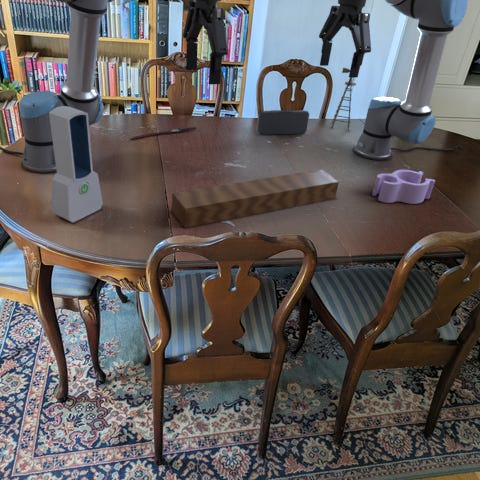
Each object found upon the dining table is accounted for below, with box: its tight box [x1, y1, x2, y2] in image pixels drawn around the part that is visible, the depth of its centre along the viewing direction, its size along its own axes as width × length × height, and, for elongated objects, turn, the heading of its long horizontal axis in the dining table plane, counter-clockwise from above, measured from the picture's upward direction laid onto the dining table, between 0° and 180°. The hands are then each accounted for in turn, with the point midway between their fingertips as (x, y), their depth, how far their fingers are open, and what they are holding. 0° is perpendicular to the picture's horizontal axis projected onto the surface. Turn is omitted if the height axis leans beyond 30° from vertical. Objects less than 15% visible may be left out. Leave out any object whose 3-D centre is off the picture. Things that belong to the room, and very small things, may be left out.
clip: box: [371, 169, 436, 205], centre depth 162 cm, size 20×12×7 cm, turn 109°
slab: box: [171, 169, 340, 229], centre depth 147 cm, size 55×10×6 cm, turn 119°
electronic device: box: [49, 106, 104, 224], centre depth 127 cm, size 12×8×30 cm, turn 148°
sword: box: [130, 126, 197, 141], centre depth 193 cm, size 31×3×1 cm, turn 126°
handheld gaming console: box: [257, 109, 310, 136], centre depth 204 cm, size 23×3×10 cm, turn 108°
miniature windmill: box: [331, 67, 357, 131], centre depth 214 cm, size 9×8×30 cm
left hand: (202, 76), depth 117 cm, fingers open, 13 cm apart
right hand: (338, 71), depth 137 cm, fingers open, 13 cm apart
